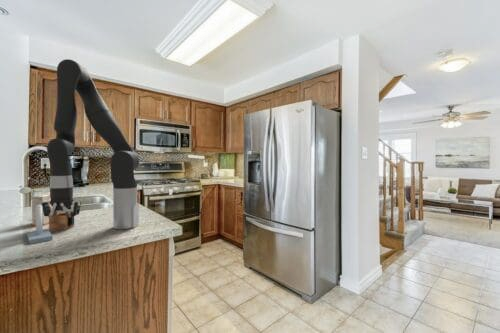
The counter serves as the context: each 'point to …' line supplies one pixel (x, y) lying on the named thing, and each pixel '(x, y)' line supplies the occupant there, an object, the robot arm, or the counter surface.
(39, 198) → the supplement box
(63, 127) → the robot arm
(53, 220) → the brown wooden cube
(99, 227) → the counter surface
